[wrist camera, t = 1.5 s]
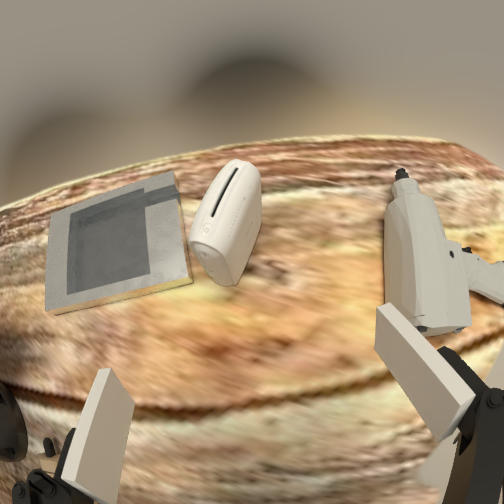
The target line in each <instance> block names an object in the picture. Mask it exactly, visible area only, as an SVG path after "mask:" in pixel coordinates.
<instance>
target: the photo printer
mask: <svg viewBox="0 0 504 504" xmlns="http://www.w3.org/2000/svg"><path fill="white" fill-rule="evenodd" d="M261 221H262V202H261V177H260V173H259V171H258V170H257V168H256V167H255V166H254V165H252V164H251V163H249V162H244V161H241V160H238V159H234V160H232V161H230V162H229V163H228V164H226V165H225V166H224V167H223V168H222V169H221V171H220V172H219V173H218V175H217V176H216V178H215V179H214V180H213V182H212V184H211V185H210V187H209V189H208V190H207V192H206V194H205V196H204V198H203V200H202V202H201V204H200V206H199V208H198V211H197V213H196V215H195V218H194V221H193V225H192V228H191V231H190V236H189V246H190V248H191V249H192V251H193V252H194V254H195V256H196V257H197V259H198V260H199V262H200V264H201V265H202V267H203V268H204V270H205V272H206V273H207V275H208V276H210V277H212V279H213V280H214V281H215V282H216V283H217V284H219V285H221V286H231V285H236V284H237V282H238V281H239V279H240V277H241V275H242V273H243V271H244V269H245V266H246V264H247V262H248V259H249V257H250V254H251V252H252V249H253V246H254V244H255V241H256V238H257V235H258V233H259V230H260V226H261Z"/></svg>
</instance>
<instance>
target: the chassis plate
mask: <svg viewBox="0 0 504 504" xmlns="http://www.w3.org/2000/svg"><path fill="white" fill-rule="evenodd" d="M192 283H194V282H193V277H192V271H191V266H190V260H189V254H188V248H187V242H186V236H185V230H184V223H183V216H182V209H181V202H180V195H179V187H178V181H177V178H176V176H175V174H174V171H170V172H167V173H163V174H160V175H157V176H154V177H150V178H147V179H144V180H141V181H138V182H135V183H132V184H129V185H126V186H123V187H120V188H117V189H114V190H111V191H109V192H106V193H103V194H100V195H98V196H95V197H93V198H90V199H87V200H85V201H82V202H80V203H77V204H75V205H72V206H70V207H67V208H65V209H63V210H60V211H58V212H56V213H53V214H51V220H50V227H49V236H48V246H47V258H46V276H45V311H46V312H49V313H51V314H54V315H59V314H63V313H68V312H72V311H77V310H81V309H86V308H90V307H95V306H99V305H103V304H108V303H112V302H117V301H121V300H125V299H130V298H134V297H138V296H142V295H147V294H151V293H155V292H159V291H163V290H168V289H172V288H176V287H180V286H184V285H188V284H192Z"/></svg>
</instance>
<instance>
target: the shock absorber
mask: <svg viewBox="0 0 504 504" xmlns="http://www.w3.org/2000/svg"><path fill="white" fill-rule="evenodd" d="M43 445H44V449H45V453H41V454H38V458H39V462H40V465H41V470H43V471H44V472H46V473H47V474H48V475H50V476H51V477H52V478H53V477H54V474H55V470H56V467H57V464H58V460H59V457H60V454H58V453H55V449H54V445H53V442H52V440H51V439H50V438H45V439H44V441H43Z"/></svg>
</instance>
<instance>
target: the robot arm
mask: <svg viewBox="0 0 504 504" xmlns="http://www.w3.org/2000/svg"><path fill="white" fill-rule="evenodd" d="M374 349H375V351H376V352H377V354H378V355H379V356H380V358H381V359H382V361H383V362H384V363H385V365H386V366H387V368H388V369H389V371H390V372H391V373H392V375H393V376H394V378H395V379H396V381H397V382H398V383H399V385H400V386H401V388H402V389H403V391H404V392H405V394H406V395H407V397H408V398H409V400H410V401H411V403H412V404H413V406H414V407H415V408H416V410H417V411H418V413H419V415H420V416H421V418H422V419H423V421H424V422H425V424H426V425H427V427H428V428H429V430H430V431H431V433H432V434H433V436H434V438H435V439H436V441H437V442H438V443H439V442H441V441H442V440H444V439H446V438H447V437H449V436H450V435H452V434H453V432H454V431H455V429H456V428H457V427H458V429H459V430H460V433H459V434H458V435H457V437H456V438H455V440H454V442H453V444H455V443H456V442H457V441H458V443H457V448H456V453H455V458H454V463H453V467H452V471H451V475H450V479H449V483H448V486H447V490H446V493H445V496H444V499H443V502H442V504H498V502H499V497H500V492H501V487H502V489H503V490H502V491H503V502H502V504H504V390H501V389H498V388H489V387H488V386H487V385H486V384H485V383H484V382H483V381H482V380H481V379H480V378H479V377H478V376H477V374H476V373H475V372H474V371H473V370H472V369H471V368H470V367H469V366H467V364H466V363H465V362H464V361H463V360H461V357H460V356H459V355H458V354H457V353H456V352H455V351H453V350H451V349H449V348H447V347H445V346H443V347H442V348H440V349H438V350H436V349H435V348H434V347H433V346H432V345H431V344H430V343H429V342H428V341H427V340H426V339H425V338H424V337H423V335H422V334H421V333H420V332H419V331H418V330H417V329H416V328H415V327H414V326H413V325H412V324H411V323H410V322H409V321H408V320H407V319H406V318H405V317H404V316H403V315H402V314H401V313H400V312H399V311H398V310H397V309H396V308H395V307H394V306H393V305H392V304H391V303H390V302H389V303H387V304H384V305H381V306H378V307H377V309H376V332H375V347H374ZM134 407H135V402H134V400H133V399H132V398H131V396H130V395H129V393H128V392H127V391H126V389H125V388H124V386H123V385H122V383H121V382H120V381H119V379H118V378H117V376H116V375H115V373H114V372H113V370H112V369H111V368H105V369H99V371H98V373H97V376H96V378H95V380H94V383H93V385H92V388H91V390H90V393H89V395H88V398H87V400H86V403H85V406H84V408H83V411H82V414H81V416H80V419H79V422H78V425H77V428H72V429H71V431H70V432H69V433H68V435H67V436H66V439H65V442H64V446H63V448H62V453H61V454H60V457H59V460H58V464H57V467H56V470H55V474H54V477H53V478H52V477H51V476H50V475H48V474H47V473H46V472H44V471H43V470H41V469H35V470H33V471H31V472H30V473H29V475H28V477H27V484H26V483H25V482H23V481H19V482H16V483H15V485H14V486H13V489H12V500H13V504H94V500H95V501H96V502H98V503H100V504H117V497H118V490H119V483H120V477H121V471H122V465H123V460H124V454H125V449H126V444H127V439H128V434H129V429H130V424H131V420H132V415H133V411H134ZM26 451H27V434H26V429H25V424H24V421H23V417H22V414H21V412H20V409H19V407H18V405H17V402H16V400H15V399H14V397H13V395H12V394H11V392H10V391H9V389H8V388H7V387H6V386H5V385H4V384H3V383H2V382H0V460H1V461H5V462H15V461H20V460H22V459H23V458H24V457H25V455H26Z"/></svg>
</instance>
